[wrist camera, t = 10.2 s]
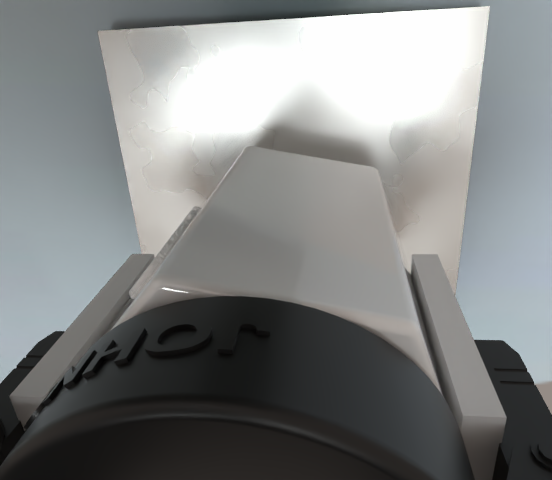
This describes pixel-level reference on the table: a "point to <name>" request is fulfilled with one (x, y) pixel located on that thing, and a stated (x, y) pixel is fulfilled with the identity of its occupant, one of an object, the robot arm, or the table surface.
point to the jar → (260, 347)
